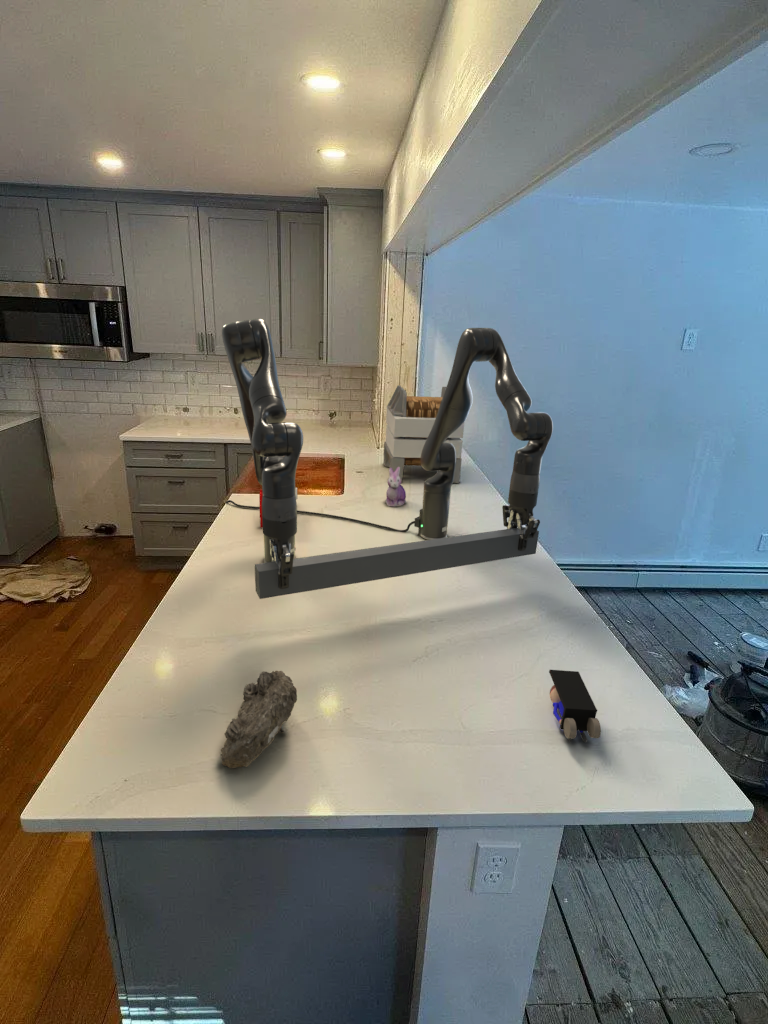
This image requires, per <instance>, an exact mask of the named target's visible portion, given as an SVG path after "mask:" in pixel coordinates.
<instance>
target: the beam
mask: <svg viewBox="0 0 768 1024" xmlns="http://www.w3.org/2000/svg"><path fill="white" fill-rule="evenodd" d="M524 534H525V530H524ZM530 534H531V533H530ZM539 535H540V531H539V530H538V529H537V531H536V534H535V536H534V538H528V541H527V548H526V549H525V550H524V551H519V550H518V543H519V538H520V532H519V530H518V527H517V528H512V529H507V528H506V529H498V530H490V531H484V532H477V533H470V534H468V533H467V534H463V535H462V534H461V535H455V536H454V535H453V536H447V538H440V539H432V540H427V539H424V540H418V541H412V542H405V543H397V544H390V545H381V546H378V547H377V546H375V547H368V548H361V549H354V550H346V551H339V552H331V553H325V554H317V555H311V556H304V557H295V559H293V568H292V574H289V587H288V588H286V589H280V588H279V580H278V565H277V564H276V563H275V561H274V562H267V563H264V562H259V563H254V584H255V592H256V595H257V597H258V599H259V600H263V599H268V598H274V597H281V596H288V595H294V594H300V593H306V592H312V591H318V590H324V589H329V588H336V587H341V586H349V585H355V584H360V583H366V582H372V581H373V582H374V581H378V580H384V579H390V578H396V577H397V578H398V577H403V576H409V575H414V574H415V575H416V574H421V573H426V572H434V571H440V570H446V569H451V568H458V567H464V566H469V565H475V564H482V563H488V562H495V561H501V560H507V559H513V558H519V557H525V556H530V555H531V556H532V555H536V554H537V547H538V540H539Z"/></svg>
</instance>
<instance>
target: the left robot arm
mask: <svg viewBox="0 0 768 1024" xmlns="http://www.w3.org/2000/svg"><path fill="white" fill-rule="evenodd" d="M221 337H222V343H223V346H224V347H223V348H224V351H225V354H226V356H227V359H228V362H229V366H230V368H231V372H232V376H233V378H234V381H235V386H236V390H237V393H238V394H237V395H238V398H239V402H240V408H241V413H242V417H243V421H244V424H245V428H246V431H247V434H248V438H249V442H250V447H251V453H252V459H253V465H254V471H255V477H256V480H257V482H258V484H259V485H260V486H261V490H262V534H263V554H264V555H263V563H267V562H274V561H275V563H276V564H277V565H278V580H279V588H280V589H286V588H288V587H289V574H292V568H293V559H295V558H296V541H295V540H296V534H297V533H298V513H297V511H298V506H297V505H298V504H297V500H296V496H295V488H296V474H297V469H298V468H297V467H298V463H299V460H300V457H301V453H302V451H303V446H304V433H303V430H302V428H301V427H300V425H299V424H298V423H296V422H293V421H284V420H285V419H286V418H287V408H286V404H285V400H284V398H283V394H282V392H281V387H280V383H279V374H278V367H277V361H276V354H275V348H274V343H273V338H272V335H271V331H270V328H269V325H268V324H267V322H266V321H265V320H264V319H263V318H251V319H250V318H249V319H245V320H238V321H234V322H230V323H226V324H224V325H223V326H222V328H221ZM257 360H260V363H259V365H258V368H257V369H256V371H255V373H254V375H252V374H251V372H250V371H249V370H248V368H247V367H246V365H245V363H249V362H252V361H257Z"/></svg>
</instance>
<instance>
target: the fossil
mask: <svg viewBox="0 0 768 1024" xmlns="http://www.w3.org/2000/svg"><path fill="white" fill-rule="evenodd" d="M256 679H257V680H256V683H254V682H251V683H248V684H246V685H245V686H244V687H243V693H242V694H243V695H242V699H243V701H242V703H241V705H240V707H239V710H238V713H237V717H238V718H232V719H231V721H230V722H229V724H228V726H227V727H226V730H225V732H224V736H225V739H226V740H225V742H224V744H223V746H222V747H221V749H220V752H221V753H220V758H221V759H220V760H221V765H222V766H226V767H228V768H229V769H236V768H242V767H244V768H247V767H249V766H250V765H251V764H252V763H253V762H255V760H256V759H257V758H258V757H259V756H261V754H262V753H263V751H265V750H266V749H267V748H268V747H269V746H270V745H271V744H272V743H273V741H274V740H275V738H276V735H277V734H278V733H279V732H280V733H281V734H283V733H284V732H285V731H284V729H282V727H283V724H284V723H285V722H287V721H288V720H289V718H290V717H291V716H292V712H293V709H294V707H295V704H296V703H297V701H298V694H297V692H298V690H297V688H296V686H295V685H294V683H293V680H292V678H291V677H290V676H288V675H286V673H285V672H284V671H283V670H272V671H271V672H268V671H260V673H259V675H258V677H257V678H256Z"/></svg>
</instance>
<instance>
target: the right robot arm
mask: <svg viewBox="0 0 768 1024" xmlns="http://www.w3.org/2000/svg"><path fill="white" fill-rule="evenodd" d="M455 350H456V351H455V354H454V358H453V364H452V368H451V371H450V375H449V378H448V381H447V383H446V386H445V387H446V390H445V392H444V395H443V397H442V400H441V403H440V406H439V410H438V413H437V416H436V419H435V422H434V424H433V427H432V429H431V431H430V434H429V436H428V438H427V440H426V442H425V444H424V446H423V449H422V452H421V466H420V467H422V469H423V470H424V471H427V472H436V473H435V474H433V475H432V476H430V477H428V478H427V479H425V480H424V482H423V493H422V496H423V497H422V506H421V508H420V509H419V516H416V517H415V518H414V520H413V521H411V522H409V523H408V525H407V527H406V528H405V529H396V528H393V527H390V526H387V525H381V524H377V523H373V522H370V521H365V520H360V519H355V518H350V517H345V516H341V515H334V514H328V513H322V512H315V511H305V510H297V514H306V515H314V516H322V517H329V518H335V519H340V520H346V521H351V522H356V523H360V524H364V525H367V526H368V525H369V526H372V527H377V528H381V529H386V530H389V531H392V532H398V533H407V532H408V531H409V530H410V527H411V526H412V525H414V526H413V527H415V528H418V530H417V535H418V536H420V538H421V539H424V540H432V539H440V538H447V537H448V525H449V517H450V516H449V514H450V504H451V494H452V493H451V491H452V486H453V484H454V483H453V478H454V470H455V463H456V451H455V448H454V446H453V445H452V444H451V443H444V441H445V440H446V439H447V438H448V437H449V436H450V435H451V434H452V433H453V432H454V431H456V430H457V429H458V428H459V427H460V426H461V425H462V424H463V423H464V424H465V421H466V420H467V419H468V416H469V413H470V412H471V411H470V410H471V408H472V406H473V402H474V396H473V395H474V394H473V391H472V388H471V385H470V380H469V375H470V372H471V368H472V366H473V365H474V363H477V362H479V363H480V362H481V363H482V362H483V363H484V362H488V363H490V365H492V367H493V368H494V370H495V381H494V389H495V394H496V396H497V398H498V400H499V401H500V403H501V405H502V406H503V408H504V410H505V412H506V416H507V419H508V423H509V429H510V432H511V434H512V435H513V436H514V438H515V439H517V440H518V441H522V442H527V443H526V445H525V446H523V447H520V448H518V449H517V450H516V451H515V453H514V456H513V457H514V458H513V464H512V465H513V466H512V472H511V476H510V482H509V489H508V496H507V497H508V498H507V503H508V504H504V505H502V506H501V507H502V509H501V510H502V520H503V527H504V528H505V527H506V529H512V528H518V530H519V532H520V538H519V543H518V550H519V551H524V550H525V549H526V548H527V541H528V538H534V536H535V534H536V531H537V530H538V529H539V527H540V524H541V520H540V519H539V518H538V519H536V518H535V517H534V508H535V507H537V504H538V497H539V489H540V483H541V469H542V462H543V457H544V454H545V452H546V451H547V447H548V445H549V443H550V441H551V438H552V435H553V432H554V422H553V419H552V417H551V415H550V414H549V413H547V412H543V411H538V412H528V411H529V410H530V409H531V407H532V405H533V401H532V397H531V396H530V394H529V393H528V391H527V389H526V388H525V386H524V385H523V383H522V381H521V380H520V378H519V377H518V375H517V373H516V371H515V368H514V365H513V363H512V361H511V357H510V355H509V353H508V351H507V350H508V349H507V348H506V345H505V343H504V341H503V337H501V334H500V332H499V331H498V330H496V329H495V328H492V327H469V328H466V329H464V330H463V331H462V333H461V334H460V337H459V340H458V343H457V346H456V349H455ZM229 503H231V504H232V505H234V506H236V507H237V508H244V509H253V510H255V509H256V510H260V506H255V505H254V506H252V505H242V504H238V503H236V502H234V501H233V500H231V499H229V500H226V501H225V504H229ZM524 530H525V534H524ZM530 533H531V534H530Z"/></svg>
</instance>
